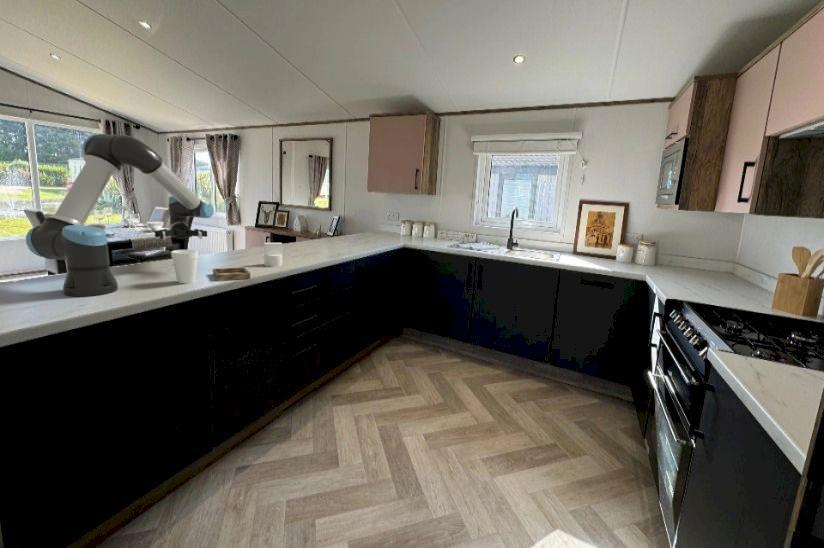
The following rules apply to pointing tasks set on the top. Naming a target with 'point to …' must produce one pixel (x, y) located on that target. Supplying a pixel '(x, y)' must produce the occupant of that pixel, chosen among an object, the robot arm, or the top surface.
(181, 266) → the foam cup
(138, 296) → the top surface
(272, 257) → the glass of milk
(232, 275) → the walnut frame
